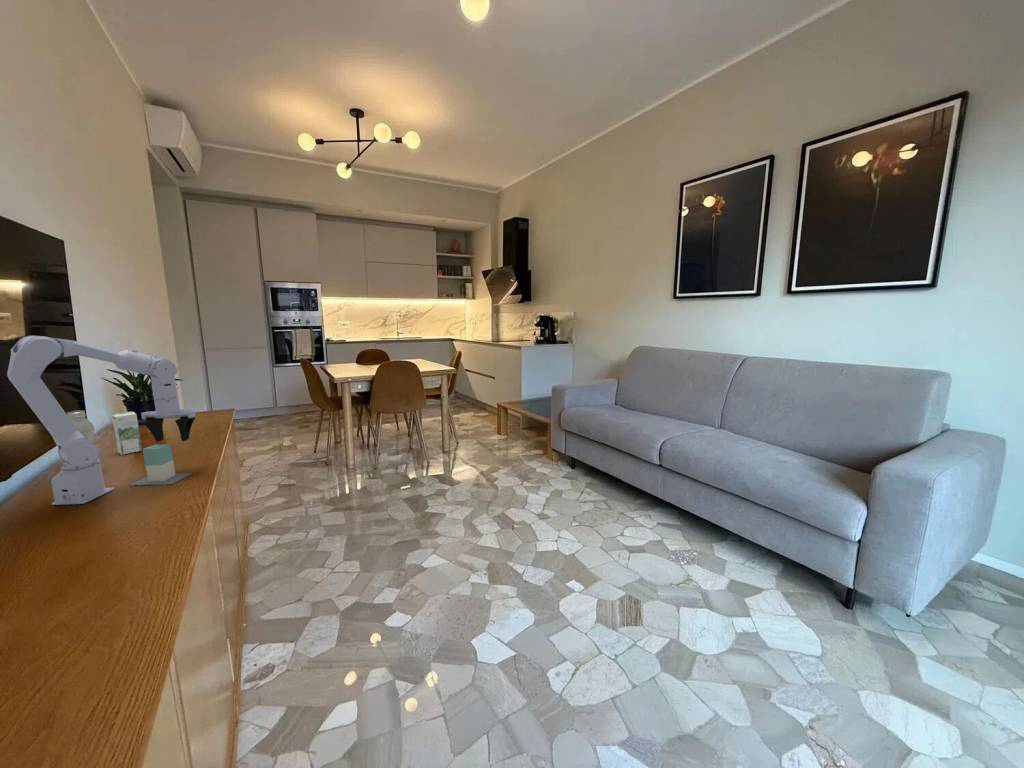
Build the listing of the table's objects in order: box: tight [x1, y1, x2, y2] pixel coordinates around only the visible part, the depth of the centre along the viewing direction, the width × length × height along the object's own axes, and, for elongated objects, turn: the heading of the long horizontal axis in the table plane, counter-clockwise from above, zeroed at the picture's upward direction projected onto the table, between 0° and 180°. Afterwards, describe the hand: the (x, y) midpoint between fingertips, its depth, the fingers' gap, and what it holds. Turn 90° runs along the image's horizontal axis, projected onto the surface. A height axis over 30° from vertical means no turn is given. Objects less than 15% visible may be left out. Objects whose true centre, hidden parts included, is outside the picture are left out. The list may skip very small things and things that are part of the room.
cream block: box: [145, 459, 176, 482], centre depth 124 cm, size 4×4×5 cm
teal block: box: [142, 443, 174, 467], centre depth 123 cm, size 4×4×5 cm
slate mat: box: [128, 472, 192, 487], centre depth 124 cm, size 8×12×1 cm, turn 94°
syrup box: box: [111, 411, 143, 456], centre depth 149 cm, size 6×6×14 cm
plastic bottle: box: [66, 409, 102, 464], centre depth 128 cm, size 6×7×20 cm
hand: (172, 440), depth 129 cm, fingers open, 7 cm apart
